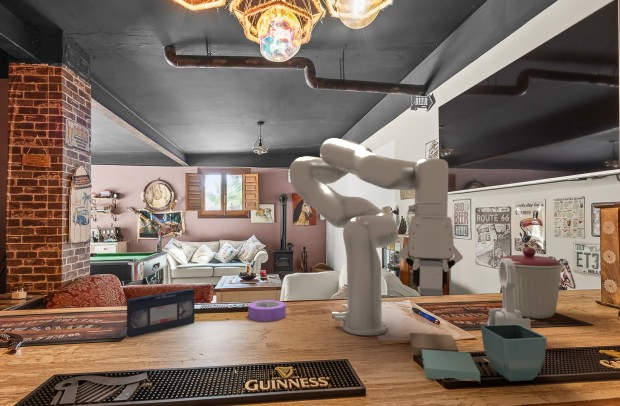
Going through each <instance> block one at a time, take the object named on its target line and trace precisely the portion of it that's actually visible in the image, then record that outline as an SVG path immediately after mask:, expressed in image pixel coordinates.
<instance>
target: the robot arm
mask: <svg viewBox="0 0 620 406" xmlns="http://www.w3.org/2000/svg"><path fill="white" fill-rule="evenodd" d="M319 155H320V157H316V156H302V157H298V158H296V159H295V160H293V162H291V164H290V166H289V180H290V184H291V186H292V188H293V190H294V192H295V193H296V194H297V195H298V197H300V198H301V199H302V200H303V201H304V202H306V204H308V205H309V206H311V208H313V209H314V210H315V211H316V212H317V213H318V214H319V215H320V216H321V217H322V218H323V219H325V220H326V221H327V222H328V223H329V224H330V225H331V226H332V227H333V226H334V228H340V229H342V228H343V230H342V236H343V237H342V238H343V242H344V247H345V252H346V254H345V255H346V279H347V280H346V281H347V282H346V285H347V287H346V289H347V290H346V293H347V298H346V299H347V300H346V302H347V303H346V304H347V305H346V306H347V309H346V311H343V312H339V311H332V312H331V319H334V321H336V322H337V321H338V322H339V321H341V322H342V323H341V328H342V330H343V331H345V332H346V333H349V334H352V335H356V336H363V337H364V336H366V337H367V336H368V337H369V336H378V335H382V334H385V333H386V332H387V331H388V324H387V323H386V322H385V321H382V319H383V318H382V312H383V311H382V309H383V308H382V264H381V259H380V256H379V253H378V251H377V249H379V248H386V247H389V246H391V245H393V244H394V243H395V242H396V241H397V239H398V236H399V229H398V226H397V223H396V222H395V220H394V219H393V218H392V217H391V216H390V215H388V214H387V213H386V212H385V211H383V210H382V209H380V208H379V206H376V205H375V204H373V202H371V201H370V200H368V199H366V198H364V197H360V196H346V195H345V196H344V195H342V194H340V193H339V192H338V191H336V190H334V189H333V188H332V187H331V186H330V185H328V184H333V183H336V182H337V181H339V180H341V179H342V178H343V177H345V176H347V175H348V174H352V175H354V176H355V177H357V178H358V179H359V180H361V181H363V182H365V183H367V184H370V185H374V186H375V187H377V188H381V189H385V190H392V191H393V190H396V191H397V190H398V191H414V204H412V205H408V212H413V213H414V215H413V216H411V219H410V223H409V230H408V242H407V244H405V245H404V246H403V248H402V249H401V250H400V252H399V253H398V256H399V257H400V259H402V260H403V261H404V262H406V264H408V265H409V267H410V268H411V269H412V283H414V284H415V287H416V288H417V287H419V267H418V265H419V262H420V259H440V260H442V261H443V270H442V289H445V285H448V272H449V270H450V269H451V268H453V267H454V266H455V265H456V264H457V263H458V262H460V261H462V260H463V258H464V256H463V255H462V253H461V252H460V251H459V250H458V249H457V248H456V247H455V245H454V243H455V242H454V228H453V222H452V217H450V216H448V206H449V205H448V204H449V203H448V200H449V199H448V197H449V196H448V194H449V192H448V191H449V164H448V161H447V160H445V159H441V158H424V159H420V160H418V161H411V160H403V159H397V158H390V157H386V156H382V155H381V154H380V155H379V154H376V153H374V152H373V151H372V149H371V148H370V147H368V146H364V145H361V144H359V143H358V142H356V141H353V140H348V139H341V138H336V137H335V138H329V139H326V140H325V141H324V142H323V143H322V144H321V146H320V149H319ZM407 254H408V255H409V256H410V257H409V256H408V255H407ZM412 258H413V259H412Z"/></svg>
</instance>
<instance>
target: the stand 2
mask: <svg viewBox="0 0 620 406" xmlns="http://www.w3.org/2000/svg"><path fill="white" fill-rule="evenodd" d="M422 359H423V361H422V365H424V366H423V369H424V371H423V372H424V375H425V379H430V380H431V379H432V380H440V379H439V378H455V379H473V380H477V381H479V382H480V383H481V372H480V370H479V368H478V366H477V364H476V362H475V360H474V359H473V357H472V355H471V353H470V352H467V351H466V352H463V351H459V352H453V351H439V350H425V349H422V356H421V360H422Z"/></svg>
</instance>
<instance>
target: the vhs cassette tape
mask: <svg viewBox="0 0 620 406" xmlns="http://www.w3.org/2000/svg"><path fill="white" fill-rule="evenodd" d="M195 320H196V319H195V289H194V288H187V289H180V290H179V289H178V290H173V291H169V292H162V293H156V294H150V295H142V296H138V297H132V298H131V297H130V298H127V299H126V335H127V337H129V338H134V337H138V336H144V335H148V334H151V333H156V332H161V331H164V330H165V331H166V330H170V329H174V328H178V327H183V326H187V325H191V324H194V323H195Z"/></svg>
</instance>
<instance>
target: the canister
mask: <svg viewBox="0 0 620 406" xmlns="http://www.w3.org/2000/svg"><path fill="white" fill-rule="evenodd" d="M502 258H510V259H512V261H513V263H514V266H515V271H516V284H515V287H514V288H513V295H514V310H519V311H520V312H521V313H522V318H525V319H526V318H529V319H535V320H536V319H540V320H541V319H548V318H552V317H553V316H554V314H555V313H556V310H557V305H558V300H559V299H558V298H559V292H560V284H561V283H560V281H561V273H562V268H564V267H565V264H564V263H562V262H560V261H559V260H557V259H556V258H553V257H548V256H542V255H536V250H535V248H533V247H530V246H529V247H526V246H525V247H524V248H523V249H522V254H513V255H510V254H509V255H504V256H502V257H501V258H498V259H497V260H496V262H497V263H498V264H499V263H500V260H501V259H502Z"/></svg>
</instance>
